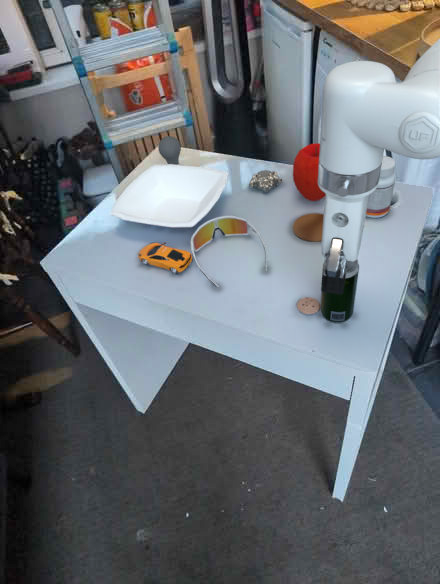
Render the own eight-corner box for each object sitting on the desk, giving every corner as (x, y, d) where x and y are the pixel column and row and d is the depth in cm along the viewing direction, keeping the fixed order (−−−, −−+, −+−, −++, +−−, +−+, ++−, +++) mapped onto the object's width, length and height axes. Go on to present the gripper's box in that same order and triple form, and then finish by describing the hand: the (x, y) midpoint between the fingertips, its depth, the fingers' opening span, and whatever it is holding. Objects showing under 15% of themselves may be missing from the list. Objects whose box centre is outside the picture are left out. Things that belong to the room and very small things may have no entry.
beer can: (356, 323, 72) (363, 271, 63) (323, 326, 72) (326, 275, 64) (348, 299, 76) (354, 247, 67) (317, 303, 76) (319, 251, 67)
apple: (346, 199, 95) (351, 148, 87) (309, 215, 93) (310, 164, 85) (320, 179, 102) (322, 130, 93) (284, 194, 100) (283, 145, 91)
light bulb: (161, 177, 112) (151, 141, 105) (172, 166, 115) (163, 130, 108) (179, 180, 110) (170, 144, 103) (190, 169, 113) (182, 133, 106)
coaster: (339, 217, 92) (340, 215, 91) (332, 244, 86) (332, 243, 86) (297, 212, 94) (297, 211, 94) (288, 239, 89) (288, 237, 89)
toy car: (150, 246, 93) (146, 233, 91) (197, 259, 88) (194, 246, 86) (134, 263, 90) (129, 251, 88) (182, 278, 85) (178, 265, 83)
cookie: (299, 297, 77) (299, 293, 77) (322, 300, 76) (322, 296, 75) (294, 313, 75) (294, 309, 74) (318, 317, 74) (318, 313, 73)
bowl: (202, 252, 90) (197, 230, 86) (108, 236, 98) (100, 215, 94) (239, 191, 103) (236, 169, 99) (154, 181, 111) (149, 161, 107)
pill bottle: (360, 200, 95) (366, 152, 86) (390, 202, 93) (399, 154, 84) (357, 217, 91) (362, 169, 83) (388, 220, 89) (397, 171, 81)
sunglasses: (247, 224, 94) (246, 207, 90) (276, 274, 85) (277, 258, 81) (185, 244, 92) (181, 228, 88) (208, 298, 83) (205, 282, 79)
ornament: (250, 198, 101) (249, 184, 98) (247, 182, 105) (246, 168, 103) (284, 193, 100) (284, 179, 97) (280, 177, 105) (280, 163, 102)
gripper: (372, 217, 48) (354, 315, 60) (386, 139, 59) (369, 236, 71) (304, 209, 50) (301, 306, 63) (330, 136, 61) (323, 231, 73)
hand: (337, 269), depth 67 cm, fingers open, 9 cm apart
